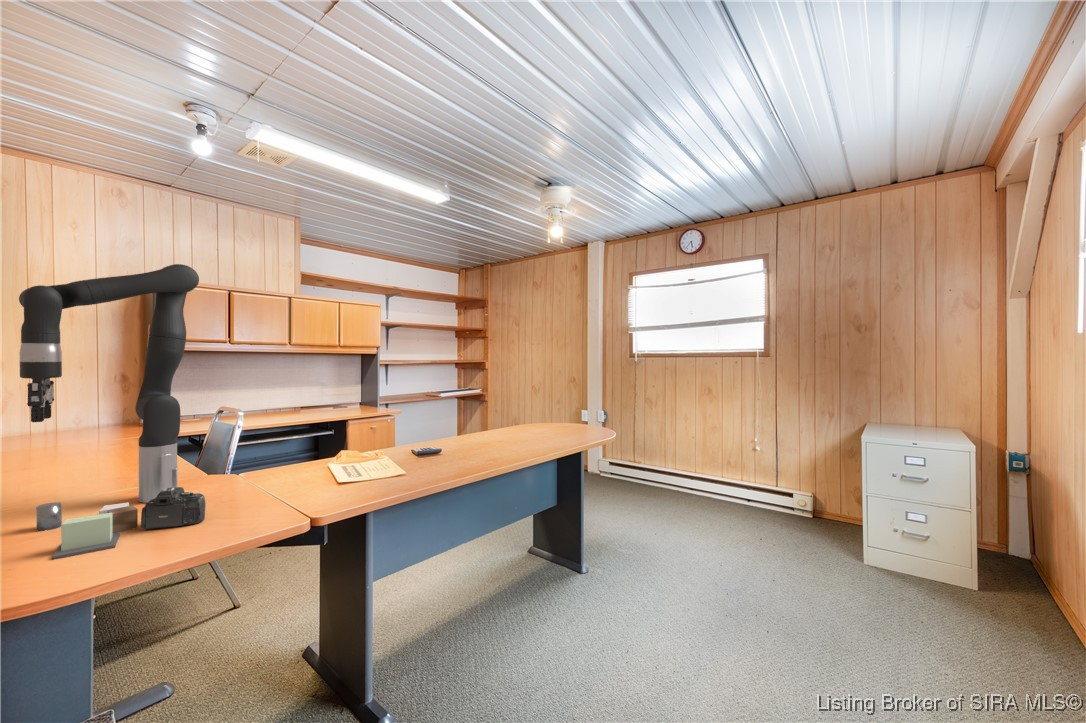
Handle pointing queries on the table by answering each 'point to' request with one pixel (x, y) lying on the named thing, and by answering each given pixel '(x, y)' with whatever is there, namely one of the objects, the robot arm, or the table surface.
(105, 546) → the mat
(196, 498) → the camera
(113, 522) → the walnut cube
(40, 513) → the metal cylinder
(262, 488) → the table surface
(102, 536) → the sage block
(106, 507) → the grey box
